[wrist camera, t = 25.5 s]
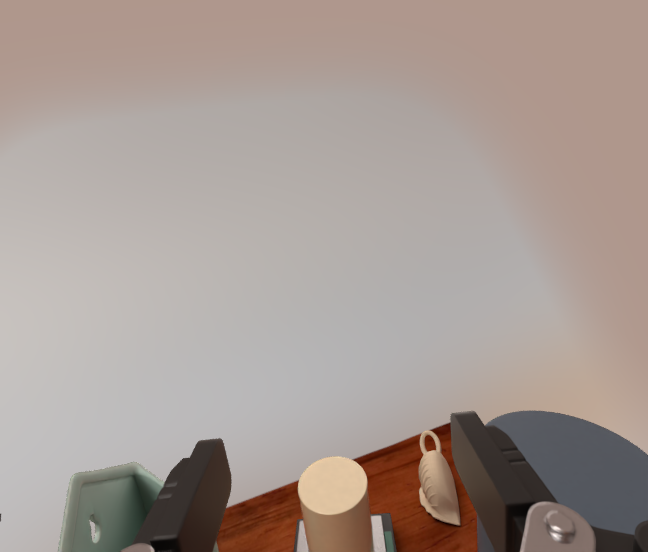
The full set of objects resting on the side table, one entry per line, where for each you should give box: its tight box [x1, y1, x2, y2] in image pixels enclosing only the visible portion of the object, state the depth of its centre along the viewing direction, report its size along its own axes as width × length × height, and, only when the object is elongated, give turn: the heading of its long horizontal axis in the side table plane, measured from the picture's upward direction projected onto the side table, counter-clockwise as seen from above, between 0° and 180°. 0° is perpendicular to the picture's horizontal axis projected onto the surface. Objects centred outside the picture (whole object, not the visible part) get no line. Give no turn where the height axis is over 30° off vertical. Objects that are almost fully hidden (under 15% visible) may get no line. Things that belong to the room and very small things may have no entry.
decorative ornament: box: [419, 431, 460, 526], centre depth 40 cm, size 4×8×5 cm, turn 166°
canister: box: [298, 457, 375, 552], centre depth 31 cm, size 6×6×9 cm
